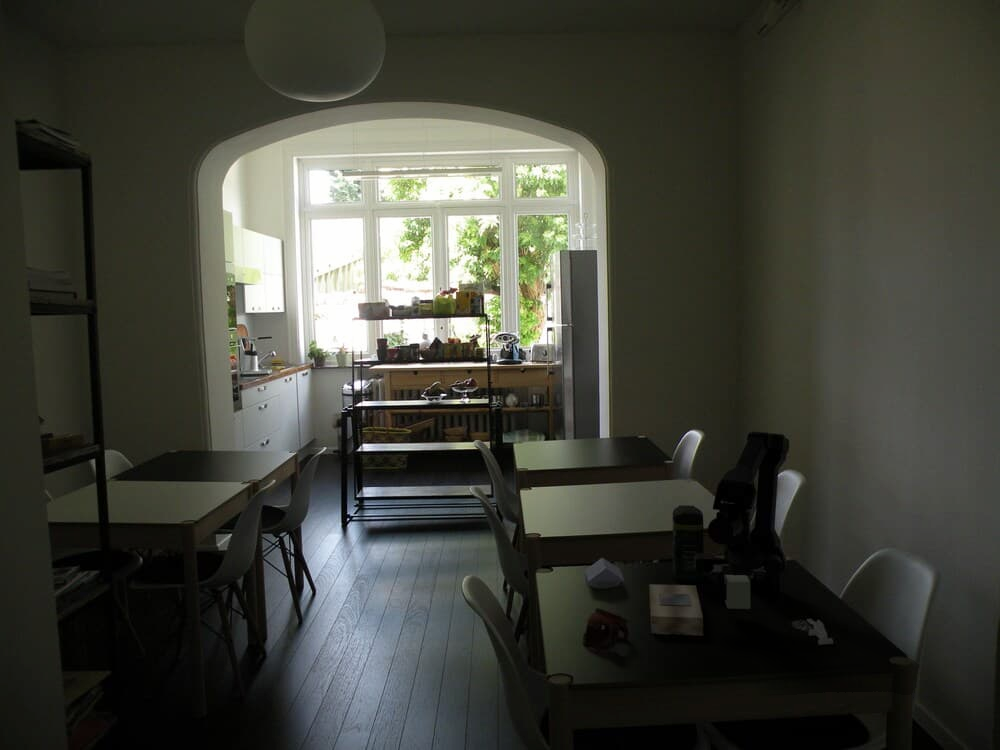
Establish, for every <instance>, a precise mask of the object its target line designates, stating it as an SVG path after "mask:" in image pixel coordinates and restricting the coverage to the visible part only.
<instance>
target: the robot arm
mask: <svg viewBox="0 0 1000 750" xmlns="http://www.w3.org/2000/svg"><path fill="white" fill-rule="evenodd" d="M789 450H790V440H789V439H788V438H787V437H786V436H785V435H784V433H773V432H771V433H770V432H765V431H764V432H763V431H752V432H751V431H750V432H749V433H748V434H747V439H746V443H745V446H744V448H743V450H742V452H741V454H740V456H739V458H738V460H737V462H736V465H735V466H734V468H732V469H730V470H728V471H727V472H725V473H724V475H723V477H722V478H721V479H720V481H719V482H718V484H717V488H716V493H715V496H714V499H713V505H712V510H715V511H717V512H716V517H715V518H713V519H712V520H710V522H709V523H708V527H707V533H708V536H709V538H710V539H711V540H712V542H714V543H715V544H718V545H723V557H720V558H719V557H713V554H712V553H711V552H704V553H696V554H695V555H694V566H695V570H696V571H697V572H704V573H709V575H710V576H713V577H715V578H716V581H717V582H718V584H719V587H720V591H721V593H722V596H723V599H724V601H725V600H726V587H725V574H724V571H723V568H728V569H729V573H730V574H729V575H746V576H748V579H749V581H750V602H751V601H752V599H753V597H754V596H761V597H763V596H766V597H767V596H769V597H771V596H772V597H781V596H782V592H781V574H783V572H785V571H786V570H787V557H786V556H785V553H784V551H783V548H782V547H781V543H782V542H781V538H780V536H779V535H778V533H777V531H776V528H775V526H776V513H777V512H776V511H777V499H778V498H777V496H778V483H779V470H780V468H781V467H782V466H783V465H784V463H785V461H786V460H787V455H788V453H789ZM757 473H758V474H757ZM757 475H758V476H757ZM756 476H757V477H758V478H757V487H756V484H755V479H756ZM756 488H757V489H756ZM755 501H756V503H755ZM755 504H756V505H755ZM754 505H755V518H754V519H755V520H754V527H753V529H751V513H750V512H751V510H753V507H754Z"/></svg>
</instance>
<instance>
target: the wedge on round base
mask: <svg viewBox="0 0 1000 750" xmlns="http://www.w3.org/2000/svg"><path fill="white" fill-rule="evenodd" d="M584 573H585V584H586V585H587V586H588V585H589V586H588V587H590V586H591V588H594V587H595V589H612V587H613V588H615V587H618V586H620V585H621V582H623V581H625V579H624V576H623V574H622V571H621V569H620V568H619V567H618V566H615V565H614V564H613V563H612V562H610V561H608V560H607V559H605V558H604V557H601V558H599V559H598V560H596V562H595V563H593V564H592V565H589V566H587V567H586V568H585V572H584Z"/></svg>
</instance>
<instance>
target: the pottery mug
mask: <svg viewBox="0 0 1000 750" xmlns="http://www.w3.org/2000/svg"><path fill="white" fill-rule="evenodd" d="M586 622H587V624H586V629H585V632H583V635H582V644H583V645H585V646H587V647H588V648H591V649H594V650H596V651H598V652H599V651H602V645H604V646H605V648H614V647H615V645H616V641H617V638H618V637H619V633H620V631H621V632H622V633H623V641H627V640H628V637H629V630H628V629H629V628H628V625H627V624H628V622H629V619H627V618H625V617H623V616H622V615H618V614H616V613H614V612H611V611H609V610H605V609H603V608H598V607H596V608H595V611H594V612H593V613H592V614H591V615H590V616H589V617H588V620H587V621H586ZM602 626H604V628H603V629H602Z"/></svg>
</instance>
